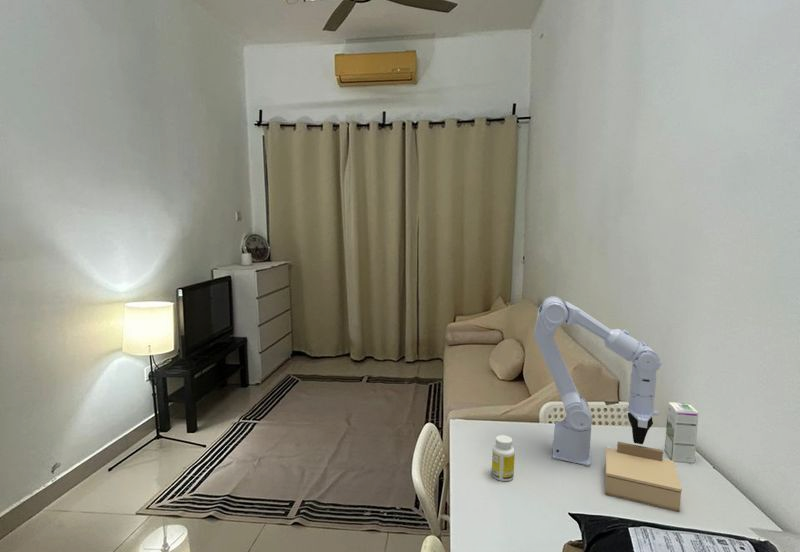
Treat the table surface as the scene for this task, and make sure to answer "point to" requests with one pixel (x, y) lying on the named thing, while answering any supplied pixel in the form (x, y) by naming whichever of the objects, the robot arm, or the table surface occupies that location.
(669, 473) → the lid
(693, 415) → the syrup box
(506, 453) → the supplement bottle
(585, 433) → the robot arm
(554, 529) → the table surface
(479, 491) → the table surface
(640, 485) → the box
